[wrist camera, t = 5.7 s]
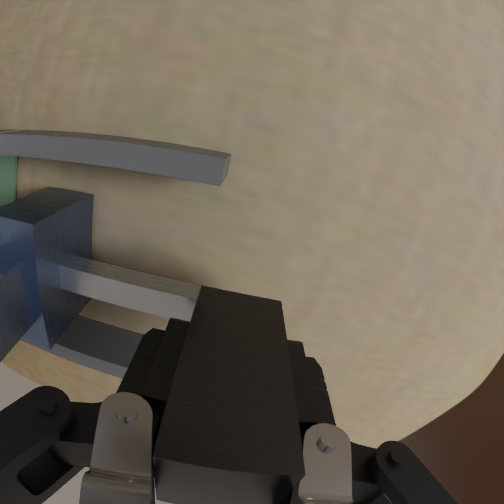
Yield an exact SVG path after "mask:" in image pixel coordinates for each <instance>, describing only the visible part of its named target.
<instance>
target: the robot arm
mask: <svg viewBox="0 0 504 504" xmlns="http://www.w3.org/2000/svg"><path fill="white" fill-rule="evenodd" d="M189 324H190V321H185V320H181V319H176V318H172V317H171V318H170V320H169V322H168V325H167V327H166V330H165V331H163V330H159V329H155V328H152V329H151V330H150V331H148V332H147V333H146V334H145V335H143V336H142V339H141V341H140V343H139V345H138V348H137V349H136V351H135V353H134V357H133V358H132V360H131V362H130V364H129V366H128V369H127V371H126V373H125V375H124V377H123V380H122V382H121V384H120V386H119V389H118V390H117V392H116V393H115V394H112V395H110V396H108V397H107V398H106V399H105V400H104V401H103V402H99V403H82V402H70V400H69V398H68V396H67V395H66V394H65V393H64V392H63V391H62V390H60V389H58V388H56V387H52V386H41V387H38V388H35V389H33V390H32V391H31V392H29V393H27V394H26V395H24V396H23V397H21V398H20V399H18V400H17V401H15V402H14V403H12V404H11V405H9V406H8V407H6V408H4V409H3V410H2V411H0V504H42V503H43V502H44V501H46V500H47V499H48V498H49V497H50V496H52V495H53V494H54V493H55V492H56V491H57V490H59V488H61V487H62V486H63V485H64V484H66V483H67V482H68V481H69V480H70V479H71V478H72V477H74V476H75V475H76V474H77V473H78V472H79V471H80V470H82V469H83V468H84V467H90V469H89V471H87V472H85V474H84V476H83V478H82V483H81V491H80V500H79V504H155V483H154V465H153V454H154V450H155V446H156V442H157V438H158V434H159V430H160V426H161V422H162V419H163V415H164V411H165V407H166V404H167V400H168V396H169V393H170V389H171V386H172V382H173V378H174V375H175V371H176V368H177V364H178V361H179V357H180V354H181V351H182V347H183V344H184V340H185V337H186V334H187V330H188V327H189ZM287 343H288V350H289V356H290V363H291V370H292V377H293V384H294V391H295V398H296V405H297V412H298V420H299V427H300V435H301V442H302V450H303V458H304V466H305V474H306V475H305V476H304V477H303V479H302V480H299V481H298V482H297V483H296V485H295V486H294V487H293V489H292V490H291V491H290V492H289V493H288V494H287V495H286V496H285V497H284V498H283V499H282V500H281V501H280V502H279V503H278V504H391V503H390V501H391V502H392V503H393V504H458V503H457V502H456V501H455V500H454V499H453V497H452V496H451V495H450V494H449V493H448V492H447V491H446V490H445V488H444V487H443V486H442V485H441V484H440V483H439V482H438V481H437V479H436V478H435V477H434V476H433V475H432V474H431V473H430V471H429V470H428V469H427V468H426V467H425V466H424V465H423V463H422V462H421V461H420V460H419V459H418V458H417V456H416V455H415V454H414V453H413V452H412V451H411V450H410V449H409V447H407V446H406V445H405V444H403V443H401V442H397V441H387V442H384V443H383V444H381V445H380V446H379V447H378V448H377V449H375V448H371V447H367V446H362V445H358V444H355V443H353V442H351V441H350V439H349V437H348V435H347V434H346V433H345V432H344V431H343V430H342V429H340V428H339V427H337V426H336V424H335V420H334V416H333V412H332V407H331V403H330V399H329V395H328V391H326V390H327V387H326V383H325V382H324V380H325V379H324V375H323V371H322V368H321V367H320V365H319V364H318V363H317V361H316V360H315V359H314V358H312V357H305V352H304V347H303V343H302V342H299V341H292V340H287ZM384 494H385V495H386V496H387V497H388V498H389V500H390V501H389V500H388V499H387V497H386V496H385V495H384Z"/></svg>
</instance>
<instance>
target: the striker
mask: <svg viewBox="0 0 504 504" xmlns="http://www.w3.org/2000/svg"><path fill="white" fill-rule="evenodd" d="M93 197H94V195H93V194H87V193H81V192H75V191H70V190H64V189H58V188H52V187H48V188H46V189H43V190H40V191H38V192H35V193H32V194H30V195H27V196H25V197H22V198H20V199H17V200H15V201H13V202H10V203H8V204H5V205H3V206H1V207H0V362H1V361H2V360H3V359H4V358H5V356H6V355H7V354H8V353H9V352H10V350H11V349H12V348H13V347H14V346H15V345H16V343H17V342H18V341H19V340H20V339H21V338H24V339H26V340H28V341H31V342H33V343H35V344H38V345H40V346H42V347H45V348H47V349H49V350H51V348H52V347H53V346H54V344H55V343H56V342H57V340H58V339H59V338H60V337H61V335H62V334H63V333H64V331H65V330H66V329H67V328H68V326H69V325H70V324H71V323H72V321H73V320H74V319H75V318H76V316H77V315H78V314H79V313H80V312H81V310H82V309H83V308H84V307H85V305H86V304H87V303H88V302H89V301H90V299H91V298H94V299H97V300H101V301H104V302H108V303H111V304H115V305H118V306H122V307H126V308H130V309H133V310H137V311H141V312H145V313H149V314H153V315H157V316H161V317H166V318H171V317H172V318H176V319H181V320H185V321H190V324H189V327H188V330H187V334H186V337H185V340H184V344H183V347H182V351H181V354H180V357H179V361H178V364H177V368H176V371H175V375H174V378H173V382H172V386H171V389H170V393H169V396H168V400H167V404H166V407H165V411H164V415H163V419H162V422H161V426H160V430H159V434H158V438H157V442H156V446H155V450H154V454H153V465H154V477H155V488H156V497H157V500H160V501H164V502H169V503H174V504H278V503H279V502H280V501H281V500H282V499H283V498H284V497H285V496H286V495H287V494H288V493H289V492H290V491H291V490H292V489H293V487H294V486H295V485H296V483H297V482H298V481H299V480H302V479H303V477H304V476H305V475H306V474H305V466H304V458H303V450H302V442H301V435H300V427H299V420H298V412H297V405H296V398H295V391H294V384H293V377H292V370H291V363H290V356H289V350H288V343H287V336H286V330H285V323H284V317H283V310H282V304H281V301H278V300H273V299H268V298H262V297H257V296H252V295H247V294H242V293H237V292H232V291H227V290H222V289H217V288H212V287H207V286H203V285H198V284H193V283H189V282H184V281H179V280H175V279H170V278H166V277H162V276H157V275H153V274H149V273H144V272H140V271H136V270H132V269H127V268H123V267H119V266H115V265H111V264H107V263H103V262H99V261H95V260H91V244H92V213H93Z"/></svg>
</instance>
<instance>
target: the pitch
mask: <svg viewBox="0 0 504 504" xmlns="http://www.w3.org/2000/svg"><path fill="white" fill-rule="evenodd" d="M18 156H19V157H30V158H41V159H50V160H59V161H67V162H76V163H84V164H91V165H98V166H106V167H113V168H119V169H126V170H132V171H139V172H145V173H151V174H157V175H163V176H168V177H174V178H179V179H185V180H190V181H196V182H201V183H206V184H211V185H216V186H220V185H221V184H222V182H223V180H224V179H225V177H226V176H227V172H228V167H229V163H230V158H231V154H228V153H223V152H218V151H213V150H207V149H202V148H196V147H190V146H185V145H178V144H172V143H165V142H159V141H152V140H144V139H137V138H128V137H120V136H110V135H100V134H89V133H77V132H61V131H41V130H0V207H1V206H3V205H5V204H8V203H10V202H13V201H15V200H16V181H17V159H18ZM142 336H143V335H142V334H138V333H135V332H131V331H127V330H124V329H120V328H117V327H113V326H110V325H106V324H103V323H100V322H96V321H93V320H90V319H87V318H84V317H81V316H78V315H77V316H76V318H75V319H74V320H73V321H72V323H71V324H70V325H69V326H68V328H67V329H66V330H65V331H64V333H63V334H62V335H61V337H60V338H59V339H58V340H57V342H56V343H55V344H54V346H53V347H52V348H51V350H49V349H47V348H45V347H42V346H40V345H38V344H35V343H33V342H31V341H28V340H26V339H24V338H21V339H20V340H22V341H25V342H27V343H29V344H31V345H33V346H36V347H38V348H40V349H43V350H45V351H47V352H50V353H52V354H55V355H57V356H60V357H62V358H65V359H67V360H70V361H72V362H75V363H78V364H81V365H83V366H86V367H89V368H92V369H95V370H98V371H101V372H104V373H107V374H110V375H113V376H116V377H120V378H123V377H124V375H125V373H126V371H127V369H128V366H129V364H130V362H131V360H132V358H133V357H134V353H135V351H136V349H137V348H138V345H139V343H140V341H141V339H142Z"/></svg>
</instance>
